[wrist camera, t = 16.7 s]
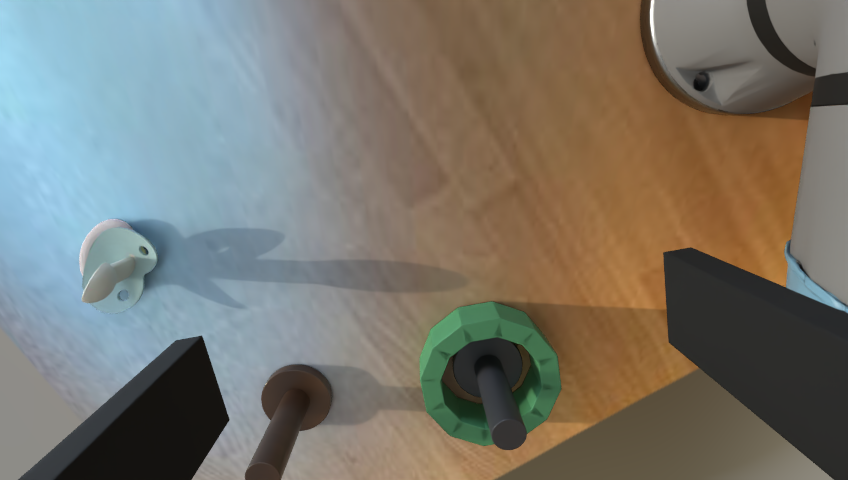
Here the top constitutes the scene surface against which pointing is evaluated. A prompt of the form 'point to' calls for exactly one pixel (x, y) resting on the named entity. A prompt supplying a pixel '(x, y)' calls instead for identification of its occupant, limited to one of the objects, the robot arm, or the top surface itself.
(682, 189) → the top surface
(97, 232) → the pacifier
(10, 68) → the top surface
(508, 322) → the ring
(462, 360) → the charcoal peg
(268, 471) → the walnut peg
